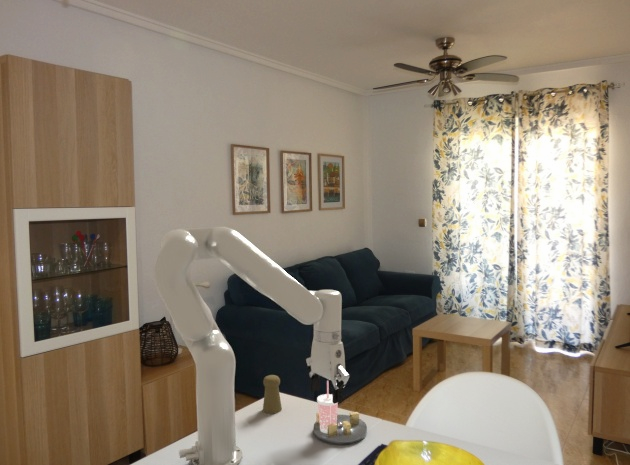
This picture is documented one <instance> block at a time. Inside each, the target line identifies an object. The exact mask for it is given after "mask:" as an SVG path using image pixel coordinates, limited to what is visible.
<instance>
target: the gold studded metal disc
mask: <svg viewBox="0 0 630 465" xmlns="http://www.w3.org/2000/svg"><path fill="white" fill-rule="evenodd" d="M367 428H368V427H367V423H366V422H365V421H364V420H362V419H361V418H360V412H358V411H354V412H350V413H349V414H337V424H336V423H335V424H330V425H328V433H323V432H321V431H320V421H319V412H316V421H315V422H314V424H313V435H314V437H315V438H316V439H317V440H319V441H320V442H322V443H325V444H328V445H334V446H348V445H354V444H357V443H359V442H361V441H362V440H364V439H365V438H366V437H367V432H368V431H367V430H368V429H367Z"/></svg>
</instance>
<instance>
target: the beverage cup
mask: <svg viewBox="0 0 630 465" xmlns="http://www.w3.org/2000/svg"><path fill="white" fill-rule="evenodd" d="M329 381H330V380H326V393H325V394H324V393H323V394H320V395H318V396H317V397H316V402H317V404H318V413H319V421H320V431H321V432H323V433H328V425H330V424H335V423H336V424H337V415H338V408H339V404H338V403H339V402H338V403H333V393H331V394H330V393H329V392H330V391H329V390H330V388H329Z"/></svg>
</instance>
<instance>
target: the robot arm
mask: <svg viewBox="0 0 630 465" xmlns="http://www.w3.org/2000/svg"><path fill="white" fill-rule="evenodd" d="M210 259H211V260H212V259H217V260H218V261H219V262H220V263H222V264H223V265H224V266H225V267H227V268H228V269H229V270H230V271H232V272H233V273H234V274H235V275H237V276H238V277H239V278H240V279H241V280H243V281H244V282H245V283H247V284H248V285H249V286H251V287H252V288H253V289H254V290H255V291H258V292H259V293H260V294H261V295H263V296H265V297H267V298H269V299H271V301H273V302H275V303H276V304H277V305H278V306H280V307H281V308H282V309H283V310H285V312H287V313H288V315H290V316H291V317H293V318H294V319H295V320H297V321H298V322H300V323H301V324H303V325H306V326H307V325H308V326H309V325H311V326H312V325H313V337H312V338H313V339H312V343H311V352H310V357H307V358H305V361H306V364H307V370H308V375H309V377H310V392H311V393H313V392H317V391H320V390H321V383H322V382H321V377H322V378H325V379H327V380H328V381H331V384H332V385H333V388H332V395H333V403H341V402H343V400H344V388H345V387H346V385H347V384H348V381H349V378H350V374H349V373H348V372H347V371H346V362H345V361H346V359H345V358H346V357H345V356H346V355H345V349H344V343H343V341H342V307H343V306H342V305H343V304H342V303H343V299H342V293H341V292H340V291H338V290H334V289H319V290H308V289H307V287H305V286H304V285H303V284H301V283H300V282H298V280H296V279H295V278H294V277H292V276H291V275H290V274H289V273H287V272H286V271H285V270H284V269H283V268H282V267H281V266H280V265H278V264H277V263H276V262H275V261H273V259H271V258H270V257H269V256H268V255H266V254H265V253H264V252H262V251H261V250H260V249H259V248H258V247H257V246H255V244H253V243H252V242H251V241H249V240H248V239H247V238H246V237H244V236H243V235H242V234H241V233H240V232H238V231H237V230H235V229H233V228H230V227H227V226H210V227H198V228H197V227H196V228H195V227H194V228H193V227H192V228H177V229H172V230H169V231H168V232H166V233H165V235H163V237H162V239H161V240H160V251H159V252H158V254H157V255H156V259H155V262H154V265H153V270H152V271H153V272H152V273H153V281H154V282H153V283H154V284H155V287H156V291H157V292H158V294H159V296H160V299H161V300H162V303H163V304H164V306H165V308H166V310H167V311H168V314H169V315H170V317H171V319H172V323H173V325H174V327H175V329H176V331H177V333H178V334H179V336H180V337H181V339H182V340H183V342H184V344H185V346H186V348H187V349H188V352H190V354H191V356H192V359H193V361H194V365H195V369H196V371H195V373H196V375H195V376H196V377H195V378H196V380H195V382H196V384H195V392H196V393H195V398H196V421H197V422H196V424H197V426H196V427H197V429H196V430H197V441H195V442H194V444H195V445H193V446H191V447H190V448H183V449H179V450H178V454H179V455H178V457H179V459H182V458H183V459H184V458H185V461H186V462H188V461H191V462H192V465H239V464H240V462H242V459H243V452H242V449H241V448H240V447H239V446H238V445H237V442H236V440H237V438H236V437H237V436H236V435H237V434H236V399H235V376H236V356H235V353H234V350H233V348H232V346H231V345H230V344H229V342H228V341H227V340H226V338H225V336H224V335H223V334H222V332H221V329H220V328H219V327H218V324H217V322H216V321H215V318H214V317H213V313H212V311H211V308H210V307H209V305H207V303H206V302H205V301H204V299H203V297H202V296H201V294H200V291H199V290H198V288H197V286H196V284H195V282H194V280H193V278H192V274H191V269H192V265H193V264H194V263H195V261H200V260H201V261H202V260H210ZM337 380H338V382H337Z"/></svg>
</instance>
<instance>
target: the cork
mask: <svg viewBox="0 0 630 465" xmlns="http://www.w3.org/2000/svg"><path fill="white" fill-rule="evenodd" d="M262 384H263V387H264V397H263V404H262V411H263V413H265V414H268V415H270V414H271V415H273V414H278V413H280V412H281V411H282V410H283V409H282V401H281V396H280V389H279V386H280V384H281V378H280V377H279V375H275V374H269V375H266V376H265V377H264V378H263V382H262Z"/></svg>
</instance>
